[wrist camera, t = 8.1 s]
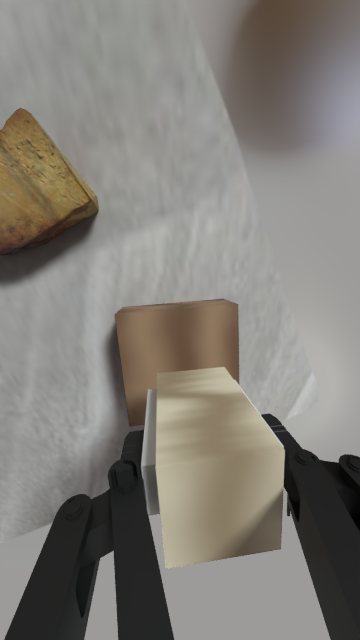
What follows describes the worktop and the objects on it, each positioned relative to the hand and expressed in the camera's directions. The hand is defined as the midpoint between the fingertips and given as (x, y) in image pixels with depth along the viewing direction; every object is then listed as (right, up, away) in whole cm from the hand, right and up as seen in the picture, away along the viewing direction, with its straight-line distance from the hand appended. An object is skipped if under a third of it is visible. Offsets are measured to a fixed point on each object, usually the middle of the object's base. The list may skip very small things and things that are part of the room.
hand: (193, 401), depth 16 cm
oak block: (0, 0, 0) cm, 0 cm away
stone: (-17, +18, +6) cm, 26 cm away
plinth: (-1, +2, +11) cm, 11 cm away
